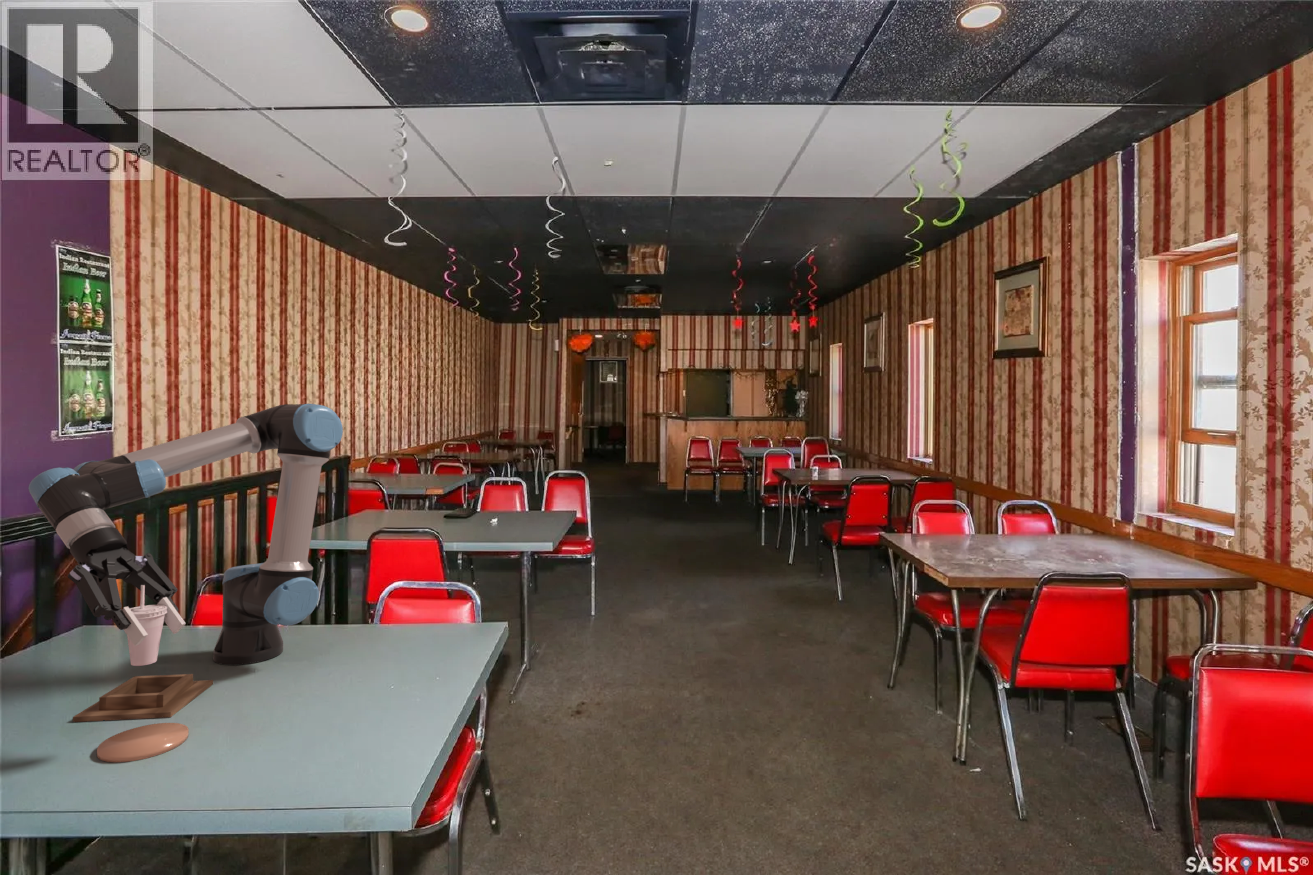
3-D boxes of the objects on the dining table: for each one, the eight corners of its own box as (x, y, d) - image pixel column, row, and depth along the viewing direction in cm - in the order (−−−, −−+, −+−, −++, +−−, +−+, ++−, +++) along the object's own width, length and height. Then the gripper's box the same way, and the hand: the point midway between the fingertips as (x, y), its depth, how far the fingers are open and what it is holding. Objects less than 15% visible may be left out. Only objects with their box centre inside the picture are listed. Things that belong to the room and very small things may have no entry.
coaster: (202, 726, 124) (202, 721, 124) (163, 759, 111) (164, 753, 111) (126, 730, 122) (126, 724, 122) (78, 764, 109) (78, 759, 109)
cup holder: (213, 684, 144) (213, 668, 144) (170, 717, 128) (171, 699, 128) (127, 688, 141) (128, 672, 141) (72, 722, 125) (73, 704, 125)
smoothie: (138, 656, 120) (140, 581, 120) (174, 656, 120) (176, 581, 120) (111, 668, 113) (113, 589, 113) (150, 668, 114) (152, 589, 114)
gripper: (134, 543, 129) (198, 632, 126) (20, 561, 111) (91, 665, 107) (155, 519, 128) (220, 607, 125) (44, 532, 109) (117, 637, 106)
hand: (161, 634), depth 116 cm, fingers closed on smoothie, 6 cm apart
